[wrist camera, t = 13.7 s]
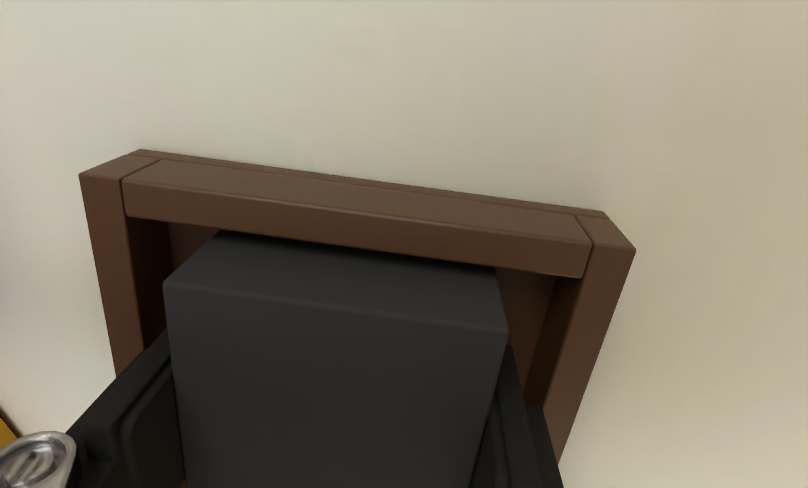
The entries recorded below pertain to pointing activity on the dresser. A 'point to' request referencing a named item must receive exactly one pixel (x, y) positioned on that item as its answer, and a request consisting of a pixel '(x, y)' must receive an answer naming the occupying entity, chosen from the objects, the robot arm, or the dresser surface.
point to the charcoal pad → (330, 364)
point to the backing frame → (366, 229)
